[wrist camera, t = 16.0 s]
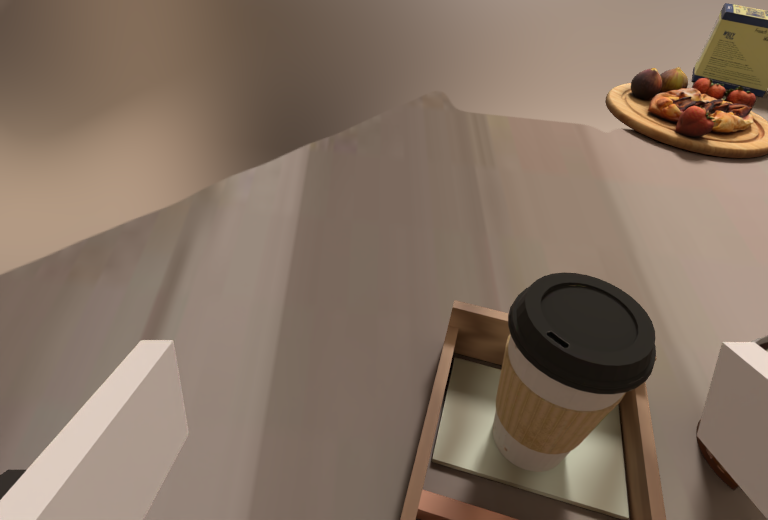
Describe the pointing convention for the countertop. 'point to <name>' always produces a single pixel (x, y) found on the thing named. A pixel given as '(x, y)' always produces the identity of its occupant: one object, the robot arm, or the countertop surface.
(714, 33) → the protein box
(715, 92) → the wooden plate with food
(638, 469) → the wooden frame with crossbars
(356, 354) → the countertop surface
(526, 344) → the coffee cup
